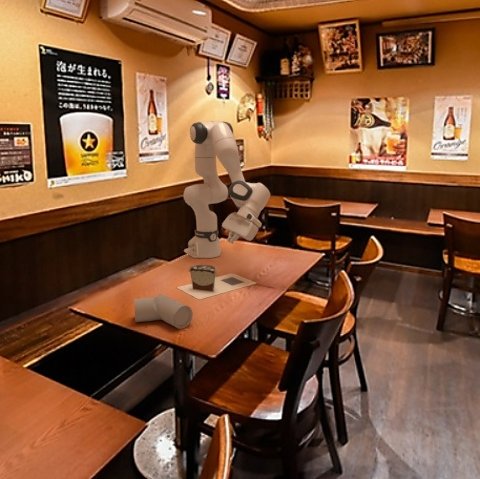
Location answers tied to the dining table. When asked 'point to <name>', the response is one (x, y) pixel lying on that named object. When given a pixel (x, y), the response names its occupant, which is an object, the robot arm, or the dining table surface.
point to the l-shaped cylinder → (163, 311)
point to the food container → (203, 277)
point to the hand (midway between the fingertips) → (229, 242)
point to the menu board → (219, 286)
